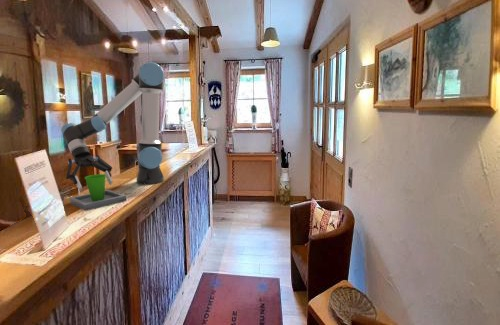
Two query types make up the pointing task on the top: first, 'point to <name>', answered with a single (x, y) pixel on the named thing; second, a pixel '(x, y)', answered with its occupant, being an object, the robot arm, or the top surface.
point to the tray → (88, 204)
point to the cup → (96, 186)
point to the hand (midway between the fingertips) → (96, 186)
